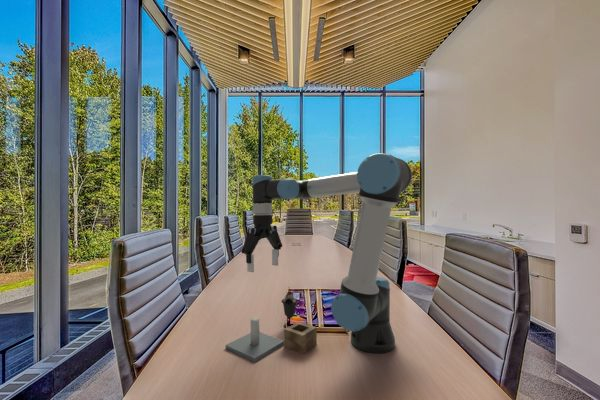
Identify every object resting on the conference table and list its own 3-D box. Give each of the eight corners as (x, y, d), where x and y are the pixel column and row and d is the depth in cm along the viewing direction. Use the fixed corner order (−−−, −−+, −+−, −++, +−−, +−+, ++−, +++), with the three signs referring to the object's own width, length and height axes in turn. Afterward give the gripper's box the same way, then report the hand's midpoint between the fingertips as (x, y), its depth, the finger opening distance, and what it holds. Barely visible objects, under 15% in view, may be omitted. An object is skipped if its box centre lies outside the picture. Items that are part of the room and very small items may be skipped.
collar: (316, 344, 103) (316, 327, 103) (302, 353, 97) (302, 335, 97) (298, 337, 108) (298, 321, 108) (284, 346, 102) (284, 329, 102)
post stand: (283, 344, 103) (283, 318, 103) (254, 362, 92) (254, 332, 92) (255, 333, 111) (255, 309, 111) (225, 348, 100) (225, 321, 100)
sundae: (290, 321, 123) (290, 285, 123) (301, 326, 118) (301, 288, 118) (277, 325, 118) (277, 288, 118) (289, 331, 113) (289, 292, 113)
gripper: (276, 213, 129) (277, 262, 129) (231, 215, 109) (232, 273, 109) (290, 213, 124) (290, 263, 124) (245, 216, 105) (246, 276, 104)
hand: (263, 268), depth 117 cm, fingers open, 13 cm apart
